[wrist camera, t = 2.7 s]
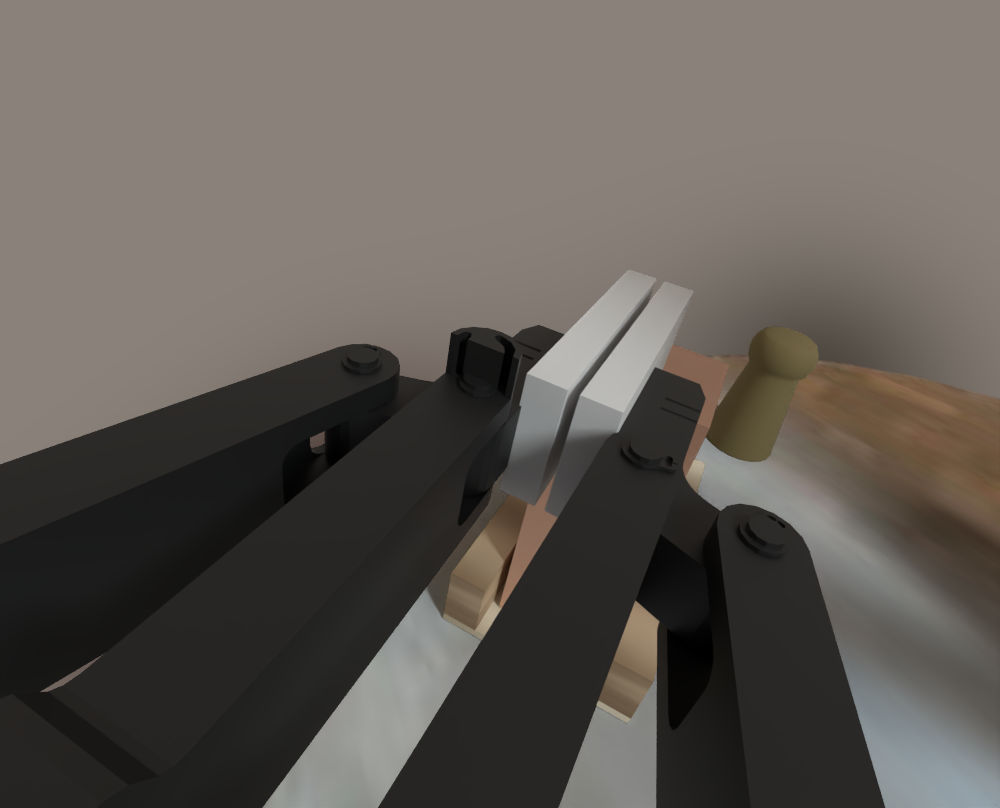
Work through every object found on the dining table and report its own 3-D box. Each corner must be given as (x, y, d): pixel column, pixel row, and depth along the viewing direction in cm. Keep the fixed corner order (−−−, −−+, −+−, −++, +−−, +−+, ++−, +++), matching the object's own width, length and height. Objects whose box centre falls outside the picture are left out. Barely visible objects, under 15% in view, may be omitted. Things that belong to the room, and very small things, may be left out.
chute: (582, 417, 50) (594, 379, 48) (703, 467, 47) (721, 430, 45) (442, 618, 32) (451, 572, 29) (627, 723, 29) (653, 682, 26)
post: (539, 538, 37) (607, 320, 28) (626, 582, 35) (729, 365, 26) (499, 606, 32) (564, 370, 23) (597, 659, 30) (709, 428, 21)
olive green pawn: (691, 430, 51) (740, 324, 45) (726, 413, 55) (776, 312, 49) (748, 470, 48) (811, 360, 42) (782, 448, 52) (844, 345, 45)
